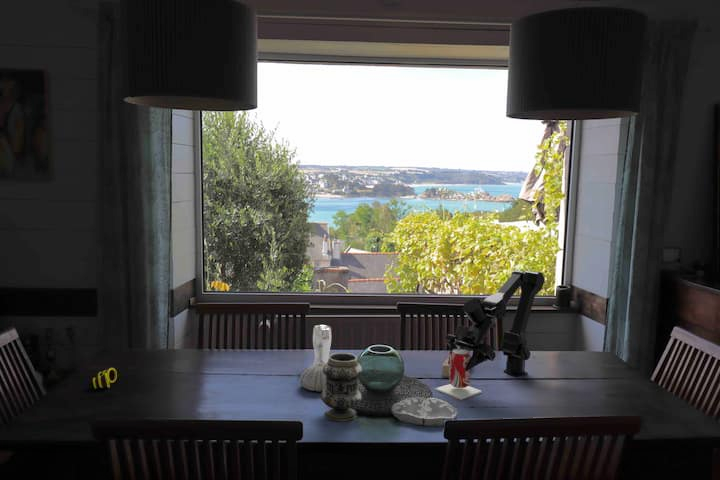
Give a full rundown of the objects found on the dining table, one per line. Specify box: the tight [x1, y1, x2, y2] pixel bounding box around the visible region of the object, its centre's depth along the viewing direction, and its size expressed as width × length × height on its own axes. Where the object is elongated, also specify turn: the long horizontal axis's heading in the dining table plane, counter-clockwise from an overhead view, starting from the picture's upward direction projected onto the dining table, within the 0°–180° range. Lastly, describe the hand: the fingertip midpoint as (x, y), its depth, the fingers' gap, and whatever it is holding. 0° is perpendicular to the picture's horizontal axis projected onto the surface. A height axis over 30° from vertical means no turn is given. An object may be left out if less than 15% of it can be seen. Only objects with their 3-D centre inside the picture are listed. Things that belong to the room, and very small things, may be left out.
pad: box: [434, 383, 483, 401], centre depth 195 cm, size 11×11×1 cm
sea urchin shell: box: [299, 363, 326, 392], centre depth 195 cm, size 13×14×8 cm
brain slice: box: [391, 396, 458, 427], centre depth 173 cm, size 20×17×3 cm
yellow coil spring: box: [92, 367, 118, 389], centre depth 193 cm, size 10×5×5 cm, turn 7°
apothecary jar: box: [320, 352, 363, 422], centre depth 172 cm, size 12×12×18 cm
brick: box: [441, 353, 450, 378], centre depth 216 cm, size 17×8×5 cm, turn 160°
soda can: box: [448, 348, 472, 388], centre depth 194 cm, size 7×7×12 cm
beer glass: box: [312, 324, 332, 364], centre depth 217 cm, size 7×7×15 cm
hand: (457, 367), depth 193 cm, fingers closed on soda can, 7 cm apart
